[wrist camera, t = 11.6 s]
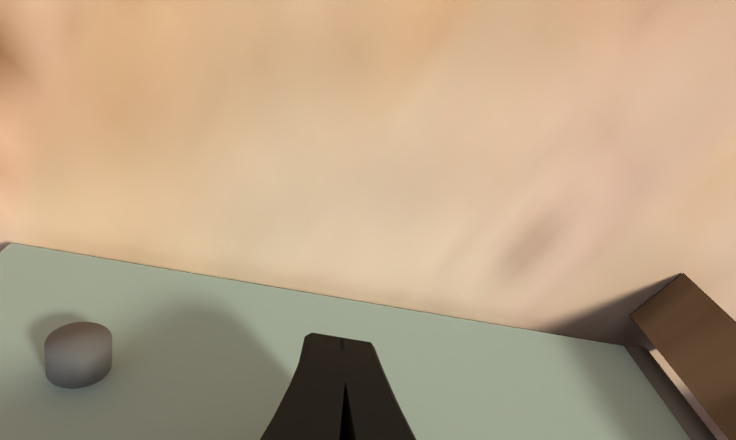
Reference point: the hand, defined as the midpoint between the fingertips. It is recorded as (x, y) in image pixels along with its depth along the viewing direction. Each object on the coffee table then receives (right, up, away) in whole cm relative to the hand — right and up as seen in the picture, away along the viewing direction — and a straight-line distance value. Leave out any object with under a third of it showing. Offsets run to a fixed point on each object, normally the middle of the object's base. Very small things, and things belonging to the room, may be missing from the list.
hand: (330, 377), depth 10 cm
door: (0, 0, +5) cm, 5 cm away
